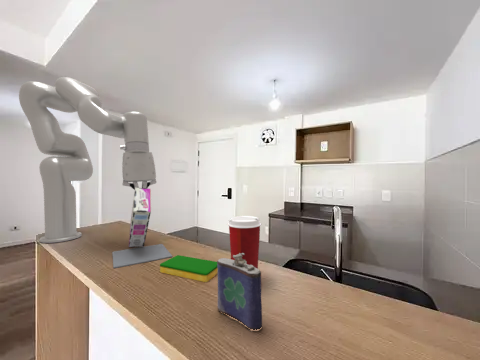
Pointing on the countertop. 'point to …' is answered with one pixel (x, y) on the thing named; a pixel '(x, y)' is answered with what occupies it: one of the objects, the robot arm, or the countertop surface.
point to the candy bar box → (140, 217)
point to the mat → (139, 255)
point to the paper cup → (245, 238)
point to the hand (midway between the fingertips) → (141, 201)
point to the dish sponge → (190, 268)
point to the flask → (240, 291)
